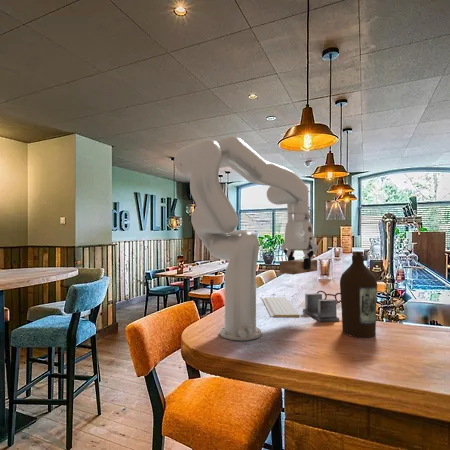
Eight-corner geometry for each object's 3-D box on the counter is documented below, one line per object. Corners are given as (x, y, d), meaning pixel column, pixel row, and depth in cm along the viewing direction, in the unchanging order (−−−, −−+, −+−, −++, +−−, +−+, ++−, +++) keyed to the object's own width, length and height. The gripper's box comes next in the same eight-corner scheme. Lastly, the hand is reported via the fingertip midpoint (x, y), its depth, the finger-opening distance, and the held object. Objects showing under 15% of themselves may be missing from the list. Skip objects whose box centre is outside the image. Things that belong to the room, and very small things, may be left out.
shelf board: (303, 269, 123) (303, 258, 123) (317, 270, 119) (317, 259, 119) (279, 272, 114) (279, 261, 114) (293, 274, 110) (293, 262, 110)
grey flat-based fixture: (339, 321, 113) (339, 300, 113) (320, 322, 111) (320, 301, 112) (319, 310, 127) (319, 292, 127) (303, 311, 126) (302, 293, 126)
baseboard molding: (266, 318, 118) (299, 318, 118) (266, 310, 118) (299, 310, 118) (259, 300, 149) (285, 300, 149) (259, 294, 149) (285, 294, 149)
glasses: (346, 304, 140) (346, 293, 140) (334, 310, 130) (334, 297, 130) (317, 300, 148) (317, 289, 148) (304, 305, 138) (304, 294, 138)
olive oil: (333, 330, 102) (332, 251, 102) (357, 326, 106) (356, 250, 107) (359, 340, 92) (358, 253, 93) (385, 335, 97) (384, 252, 97)
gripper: (325, 217, 113) (326, 269, 113) (285, 219, 126) (286, 265, 126) (313, 217, 108) (314, 271, 108) (272, 219, 121) (273, 267, 120)
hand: (299, 268), depth 117 cm, fingers closed on shelf board, 6 cm apart
